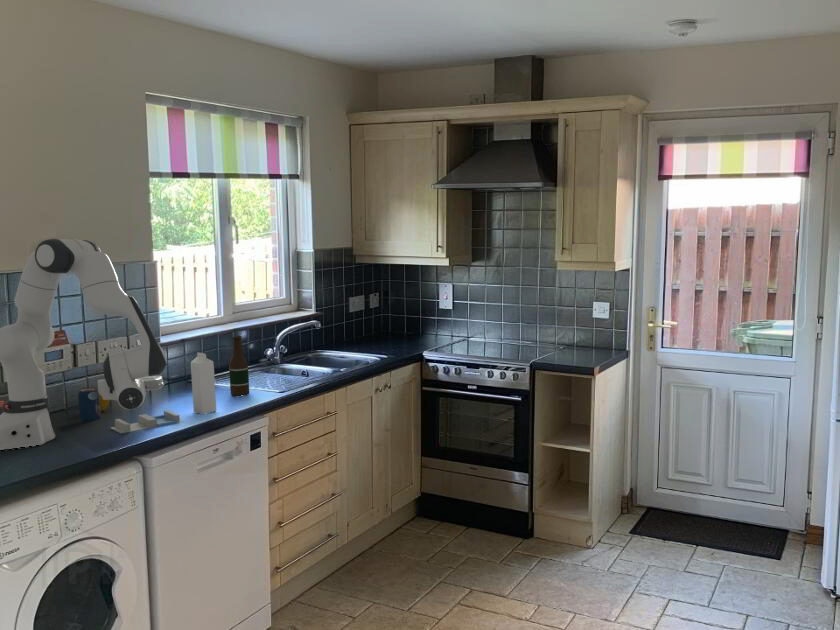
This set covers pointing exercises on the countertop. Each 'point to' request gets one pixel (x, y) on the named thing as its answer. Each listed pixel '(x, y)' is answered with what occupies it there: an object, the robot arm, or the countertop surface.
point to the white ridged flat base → (147, 422)
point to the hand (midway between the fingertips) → (130, 379)
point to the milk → (203, 384)
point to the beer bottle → (238, 370)
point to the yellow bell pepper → (103, 403)
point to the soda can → (89, 404)
